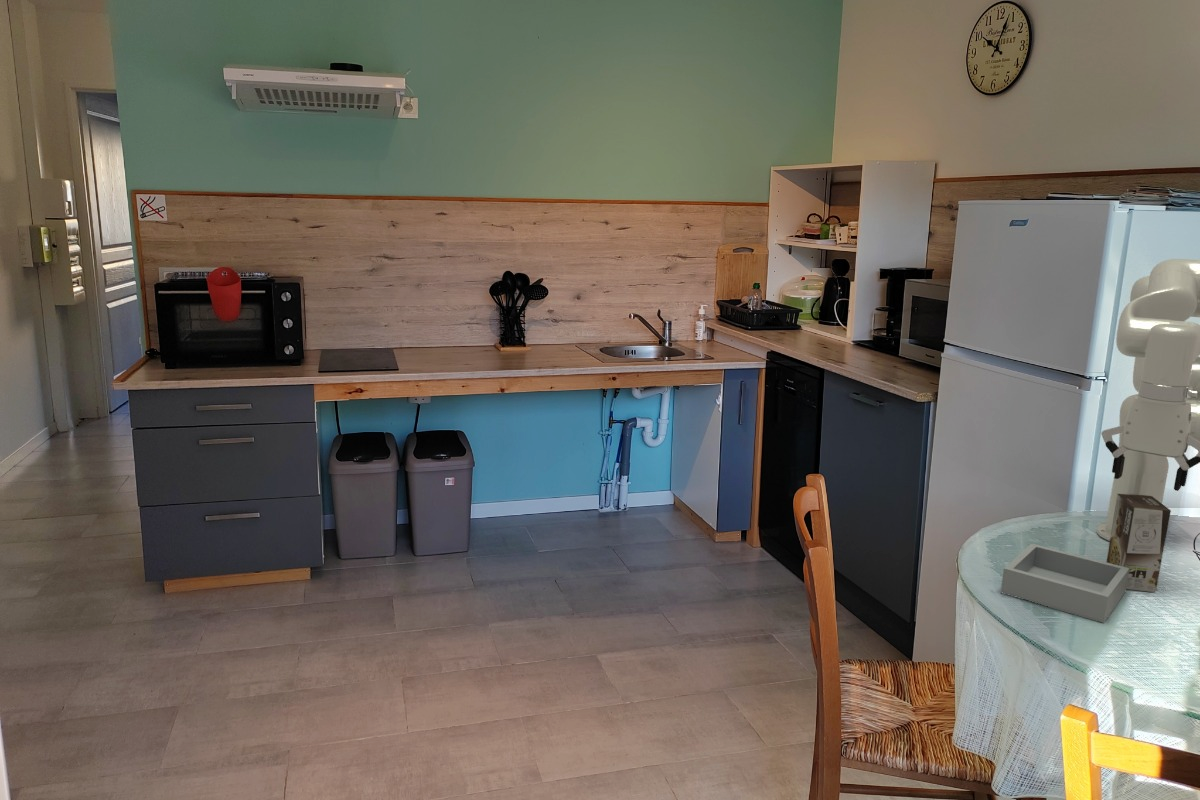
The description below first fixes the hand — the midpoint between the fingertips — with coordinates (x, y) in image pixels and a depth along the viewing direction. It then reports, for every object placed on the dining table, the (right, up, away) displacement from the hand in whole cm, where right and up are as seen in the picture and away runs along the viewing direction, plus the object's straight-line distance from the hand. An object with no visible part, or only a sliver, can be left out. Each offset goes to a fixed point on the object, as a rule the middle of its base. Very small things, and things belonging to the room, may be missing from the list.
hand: (1147, 483), depth 168 cm
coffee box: (0, -19, +5) cm, 20 cm away
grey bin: (-16, -20, -1) cm, 26 cm away
